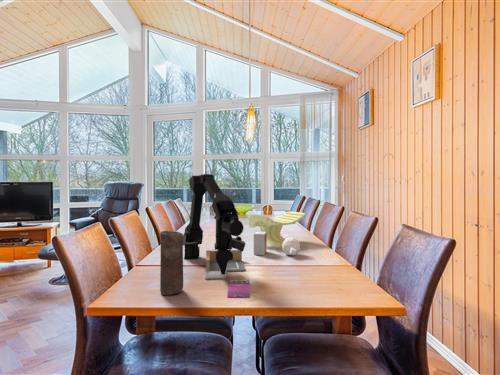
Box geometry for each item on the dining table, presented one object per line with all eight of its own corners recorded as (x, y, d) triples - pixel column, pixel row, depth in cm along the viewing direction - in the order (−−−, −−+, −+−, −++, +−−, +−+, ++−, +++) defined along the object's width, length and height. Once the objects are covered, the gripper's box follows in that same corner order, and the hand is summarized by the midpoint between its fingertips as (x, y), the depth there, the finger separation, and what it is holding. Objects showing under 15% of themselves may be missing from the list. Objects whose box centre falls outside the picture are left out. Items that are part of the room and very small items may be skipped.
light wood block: (204, 279, 110) (204, 260, 109) (205, 275, 114) (205, 257, 114) (226, 278, 111) (226, 259, 111) (225, 274, 115) (225, 256, 115)
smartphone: (249, 282, 108) (249, 279, 108) (250, 299, 93) (250, 296, 93) (229, 282, 108) (229, 279, 108) (227, 298, 93) (227, 296, 93)
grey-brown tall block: (162, 287, 100) (163, 229, 100) (184, 287, 101) (184, 229, 101) (157, 296, 93) (157, 233, 92) (181, 296, 93) (181, 233, 93)
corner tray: (205, 272, 117) (206, 260, 117) (206, 261, 133) (206, 250, 133) (245, 271, 120) (245, 258, 119) (241, 260, 135) (241, 249, 135)
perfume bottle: (278, 248, 151) (281, 257, 139) (284, 232, 150) (288, 240, 138) (294, 253, 152) (298, 263, 140) (300, 237, 150) (305, 245, 139)
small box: (264, 255, 144) (264, 234, 144) (253, 255, 146) (253, 233, 145) (266, 251, 152) (267, 231, 152) (256, 251, 153) (256, 231, 153)
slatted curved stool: (286, 238, 187) (287, 210, 186) (305, 243, 174) (305, 213, 174) (248, 244, 169) (248, 213, 169) (266, 249, 156) (266, 216, 156)
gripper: (247, 236, 104) (247, 279, 105) (241, 227, 123) (241, 264, 123) (215, 236, 103) (215, 281, 103) (214, 228, 121) (214, 265, 122)
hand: (223, 272), depth 113 cm, fingers closed on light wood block, 4 cm apart
